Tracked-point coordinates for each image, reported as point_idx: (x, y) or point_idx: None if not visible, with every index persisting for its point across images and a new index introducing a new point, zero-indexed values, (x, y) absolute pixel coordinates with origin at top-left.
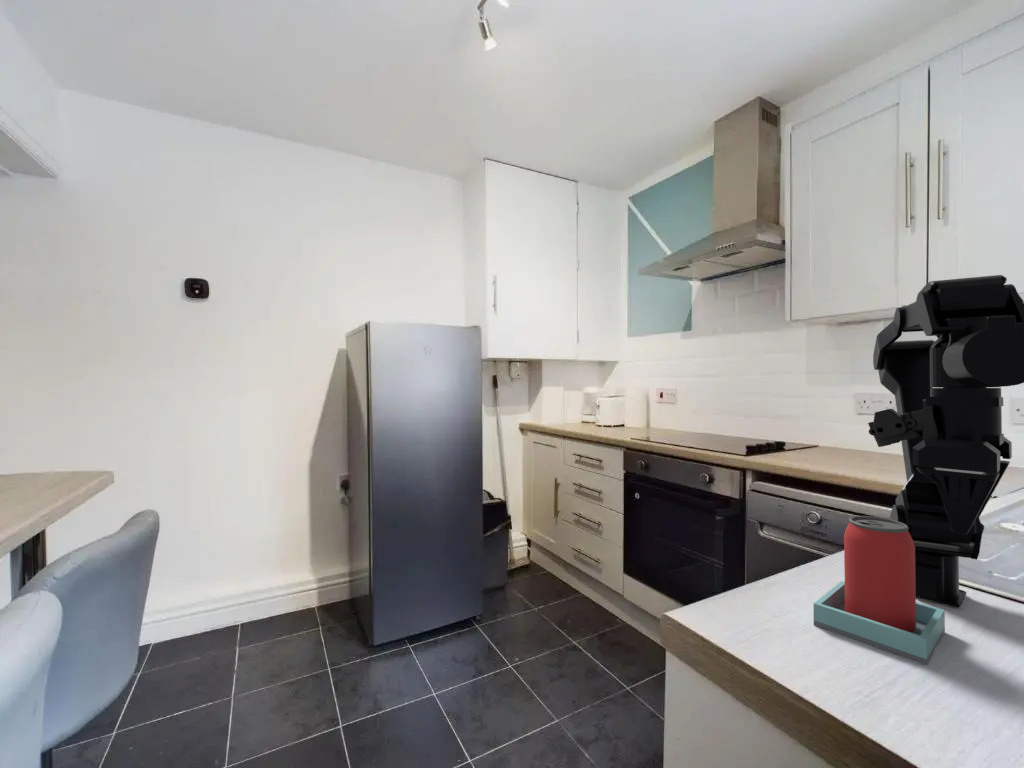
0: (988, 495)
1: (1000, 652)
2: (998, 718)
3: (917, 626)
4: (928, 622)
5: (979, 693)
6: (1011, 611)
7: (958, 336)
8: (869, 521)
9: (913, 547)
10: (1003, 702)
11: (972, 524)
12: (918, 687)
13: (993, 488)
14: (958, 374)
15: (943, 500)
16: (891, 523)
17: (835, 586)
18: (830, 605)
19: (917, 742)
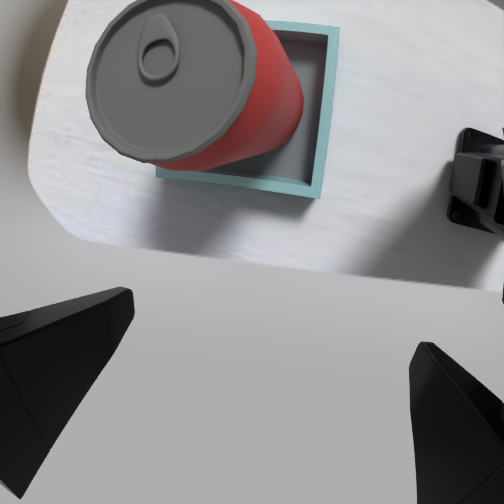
0: (418, 461)
1: (298, 253)
2: (115, 233)
3: (287, 155)
4: (229, 175)
5: (150, 222)
6: (480, 285)
7: None
8: (170, 41)
9: (174, 170)
10: (149, 240)
11: (117, 344)
12: (114, 170)
13: (419, 494)
14: None
15: (23, 314)
16: (228, 99)
17: (294, 23)
18: None
19: (42, 182)
